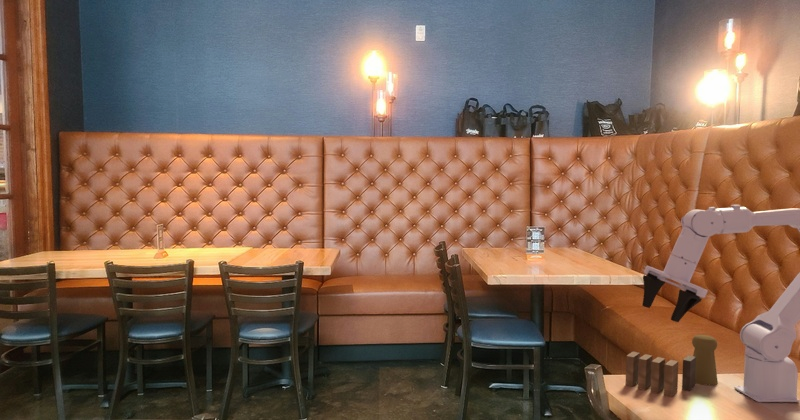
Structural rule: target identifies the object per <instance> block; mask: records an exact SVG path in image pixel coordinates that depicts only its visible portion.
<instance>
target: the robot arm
mask: <svg viewBox="0 0 800 420" xmlns="http://www.w3.org/2000/svg"><path fill="white" fill-rule="evenodd" d="M680 222H681V223H680V224H681V230H680V233H679V235H678V237H677V238H676V241H675V244H674V246H673V249H672V250H671V253H670V255H669V257H668V259H667V262H666V264H665V267H664V269H663V270H660V269H657V268H655V267H652V266H649V265H646V267H645V269H644V271H643V273H644V275H643V277H642V280H643V297H642V298H643V299H642V306H643V308H644V307H646V308H648V309H650V308H651V307H652V305H653V304H654V301H655V298H656V296H657V295H658V293H659V292H660V290H661V288H662V287H663V286H664V285H665V283H667V284H670V285H673V286H675V287H678V288H679V290H678V291H679V292H678V296H677V302H676V304H675V307H674V310H673V312H672V314H671V318H670V320H671V321H673V322H676V323H679V322H680V321H681V320H682V318H683V317H684V316H685V314H687V312H688V311H690V310H691V309H692V308H693V307H694V306H696V305H698V304H699V303H701V301H702V299H705V298H706V296H707V294H708V291H709V289H705V288H704V287H702V286H699V285H697V284H693V283H692V282H691V279H692V277H693V275H694V273H695V271H696V268H697V266H698V263H699V262H700V259H701V257H702V255H703V253H704V251H705V248H706V246H707V243H708V241H709V239H710V237H713V236H714V235H721V234H724V235H726V234H740V233H741V234H743V233H748V232H750V231H751V230H752V228H754V227H758V226H759V227H764V226H766V227H767V226H789V227H791V228H793V229H797V230H798V232H799V233H800V208H799V207H798V208H797V207H796V208H793V207H791V208H781V209H769V210H760V211H752V210H750V209H749V208H748V207H745V206H741V205H740V204H731V205H730V207H721V208H716V207H715V206H709V207H708V209H706V210H705V209H692V210H690V211H688V212H687V213H686V214H685V215H684V216H682V217H681V220H680ZM645 274H646V275H645ZM670 280H671V281H670ZM673 281H674V282H673ZM675 282H676V283H675ZM678 283H679V284H678ZM799 321H800V271H799V273H798V274H797V275H796V276H795V277H794V278H793V280H792V281H791V282H790V283H789V285H788V286H787V287H786V289H785V290H784V291H783V293H782V294H781V295H780V296H779V297H778V299H776V301H775V303H774V304H773V305H772V306H771V308H770V309H769V310H768V311H765V312H763V313H761V314H759V315H756V317H755V318H754V319H753V320H752V321H750V322H747V323H746V324H745V325H744V326H743V327H741V329H740V331H739V338H740V340H741V342H742V344H743V345H744V346H745V349H744V369H743V385H735V386H734V390H737V392H740V393H741V394H743V395H746V396H747V397H749V398H750V399H752V400H754V401H756V402H758V403H799V402H800V399H799V398H798V397H797V396H798V373H799V372H798V368H797V365H796V364H795V362H794V361H793V360H792V359H791V358H789V357H788V356H790V354H791V352H792V346H793V343H794V341H795V340H796V339H797V338H798V337H797V336H798V335H797V330H796V325H797V324H798V323H799Z"/></svg>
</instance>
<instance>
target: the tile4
mask: <svg viewBox="0 0 800 420" xmlns="http://www.w3.org/2000/svg"><path fill="white" fill-rule="evenodd" d="M652 361H653V355H650V354H647V353H645V354H643V355H642V356H640V358H639V367H638V383H637V388H638V389H640V390H644V391H646V390H647V389H648V388H650V387H651V362H652Z"/></svg>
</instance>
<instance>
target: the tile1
mask: <svg viewBox="0 0 800 420" xmlns="http://www.w3.org/2000/svg"><path fill="white" fill-rule="evenodd" d="M695 370H696V357H694V356H693V355H689V354H688V355H687V356H686V357H684V358H683V359H682V379H681V390H683V391H687V392H690V391H692V390H693V389H694V387H695V386H696V383H695Z"/></svg>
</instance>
